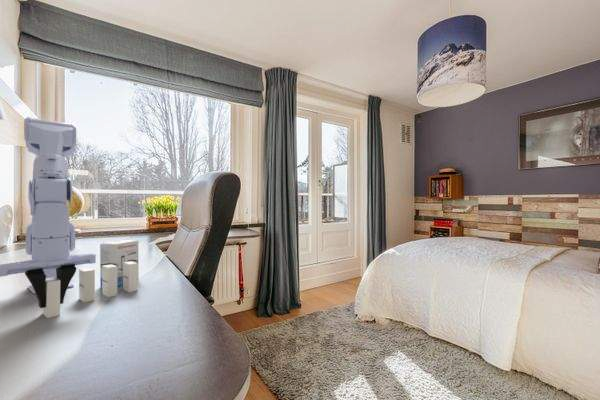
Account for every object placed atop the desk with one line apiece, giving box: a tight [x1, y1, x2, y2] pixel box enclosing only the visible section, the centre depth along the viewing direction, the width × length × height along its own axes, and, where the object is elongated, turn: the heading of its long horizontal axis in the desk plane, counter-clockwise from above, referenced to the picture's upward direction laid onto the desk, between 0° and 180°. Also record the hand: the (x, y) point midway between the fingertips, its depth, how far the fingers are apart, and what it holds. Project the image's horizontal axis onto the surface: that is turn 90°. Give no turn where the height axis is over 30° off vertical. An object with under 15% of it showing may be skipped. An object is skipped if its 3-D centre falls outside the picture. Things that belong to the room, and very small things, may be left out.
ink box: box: [99, 239, 139, 288], centre depth 78 cm, size 9×5×12 cm, turn 168°
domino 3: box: [101, 264, 118, 298], centre depth 69 cm, size 4×2×7 cm, turn 51°
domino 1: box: [42, 277, 61, 319], centre depth 56 cm, size 4×2×7 cm, turn 51°
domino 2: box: [78, 267, 96, 303], centre depth 65 cm, size 4×2×7 cm, turn 51°
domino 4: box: [122, 261, 139, 293], centre depth 72 cm, size 4×2×7 cm, turn 51°
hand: (51, 304), depth 56 cm, fingers closed on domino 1, 2 cm apart
